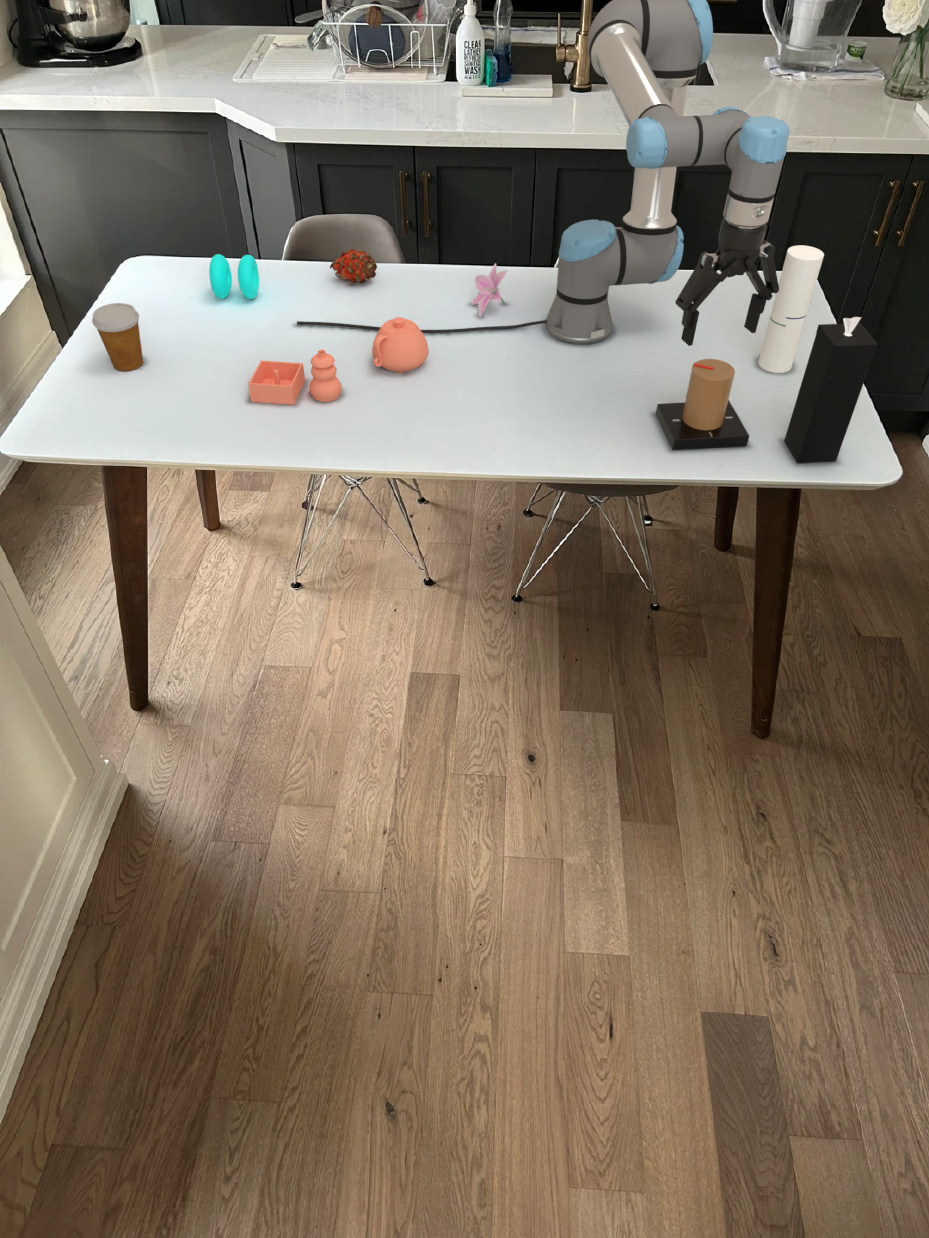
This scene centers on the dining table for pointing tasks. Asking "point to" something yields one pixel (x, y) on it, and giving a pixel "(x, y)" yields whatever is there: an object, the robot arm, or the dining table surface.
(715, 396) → the tan pointer knob
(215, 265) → the donuts
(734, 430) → the control knob panel
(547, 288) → the dining table surface
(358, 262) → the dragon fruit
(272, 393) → the terracotta box and gourd
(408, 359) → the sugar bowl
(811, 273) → the cylindrical container
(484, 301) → the lily
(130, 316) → the disposable coffee cup
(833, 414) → the tissue box
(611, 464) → the dining table surface
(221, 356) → the dining table surface
